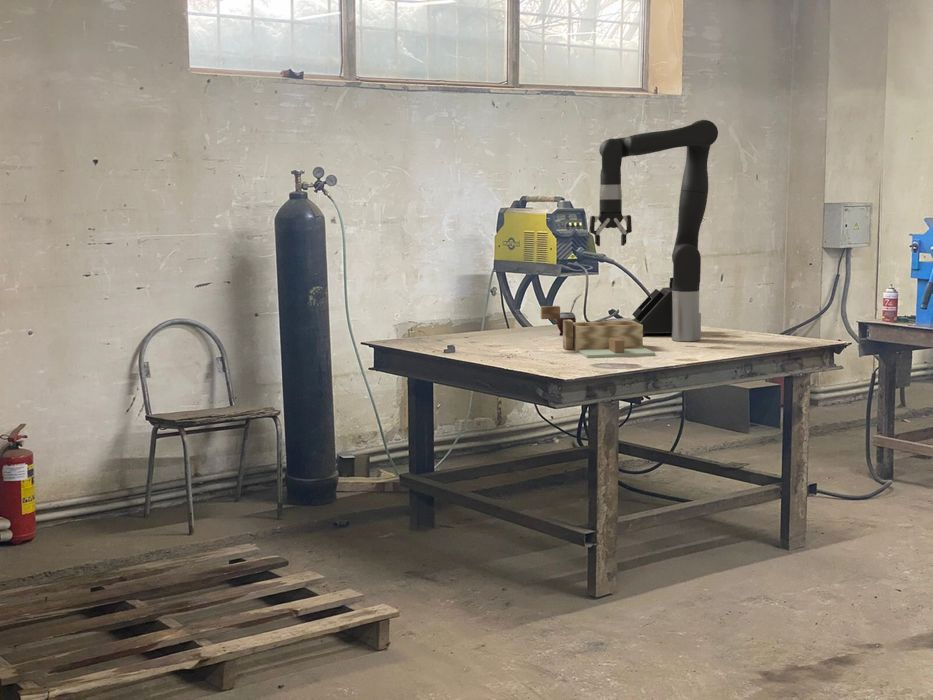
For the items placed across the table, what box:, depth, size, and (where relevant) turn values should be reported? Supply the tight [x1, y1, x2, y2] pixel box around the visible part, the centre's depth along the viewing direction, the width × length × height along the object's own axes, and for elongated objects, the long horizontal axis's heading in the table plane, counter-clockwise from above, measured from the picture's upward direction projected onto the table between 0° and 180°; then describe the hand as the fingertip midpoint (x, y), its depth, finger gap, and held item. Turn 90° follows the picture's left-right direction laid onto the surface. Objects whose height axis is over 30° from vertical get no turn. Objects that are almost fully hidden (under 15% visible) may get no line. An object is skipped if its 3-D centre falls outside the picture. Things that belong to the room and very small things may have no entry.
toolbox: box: [562, 320, 644, 352], centre depth 377 cm, size 25×12×10 cm, turn 95°
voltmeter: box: [631, 277, 673, 337], centre depth 411 cm, size 16×16×20 cm
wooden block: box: [540, 305, 561, 320], centre depth 374 cm, size 6×3×4 cm, turn 95°
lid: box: [578, 337, 656, 359], centre depth 362 cm, size 22×12×6 cm, turn 97°
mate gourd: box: [556, 293, 582, 337], centre depth 413 cm, size 8×8×15 cm
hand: (610, 245), depth 389 cm, fingers open, 8 cm apart
